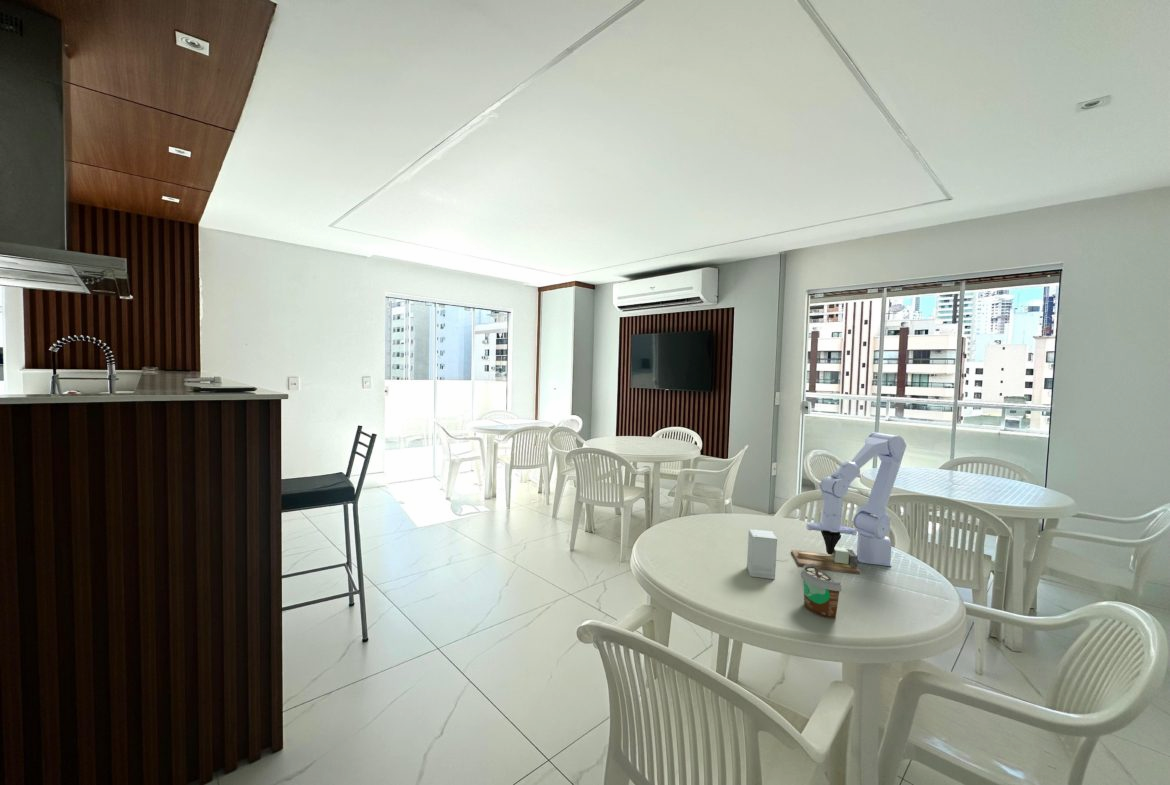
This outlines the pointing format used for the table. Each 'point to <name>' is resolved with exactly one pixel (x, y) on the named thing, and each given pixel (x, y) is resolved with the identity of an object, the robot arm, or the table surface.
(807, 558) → the track board
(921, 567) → the table surface
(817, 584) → the food container
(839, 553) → the block
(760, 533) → the supplement box
